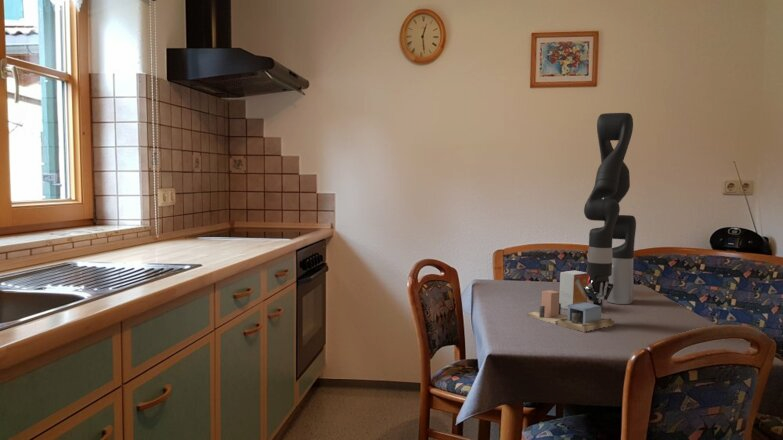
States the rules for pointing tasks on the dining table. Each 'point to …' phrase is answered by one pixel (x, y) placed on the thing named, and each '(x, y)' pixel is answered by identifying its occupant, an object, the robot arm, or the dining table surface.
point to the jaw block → (550, 303)
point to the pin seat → (541, 316)
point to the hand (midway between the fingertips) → (597, 313)
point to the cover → (585, 311)
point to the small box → (572, 288)
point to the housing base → (578, 324)
